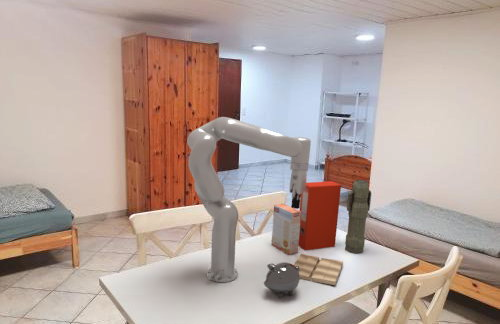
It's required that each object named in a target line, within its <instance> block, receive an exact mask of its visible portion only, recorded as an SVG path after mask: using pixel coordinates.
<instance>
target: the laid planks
mask: <svg viewBox="0 0 500 324" xmlns="http://www.w3.org/2000/svg"><path fill="white" fill-rule="evenodd" d="M320 260H321V259H320V257H318V256H315V255H310V254H309V255H308V254H304V253H300V255H299V256H298V258H297V259H296V261H295V262H294V264H293V265H294V266H299V268H300V271H299V274H300V280H305V281H308V282H309V281H310V282H312V276H313V274H314V272H315V270H316V268H317V266H318V264H319V262H320Z"/></svg>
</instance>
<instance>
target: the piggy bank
mask: <svg viewBox="0 0 500 324" xmlns="http://www.w3.org/2000/svg"><path fill="white" fill-rule="evenodd" d="M267 269H268V271H267V273H266V277H265V280H264V282H263V285H264V287H265V288H267V289H269V291H271V292H273V293H275V294H277V296H278V297H277V298H279V299H283V298H284V296H285V294H288V295H289V296H290V297H293V296H294V294H295V290H296V289H297V288H298V286H299V284H300V281H301V279H300V274H299V271H300V268H299V266H294V264H292V263H289V262H279V263H276V264H274V263H269V264H267Z"/></svg>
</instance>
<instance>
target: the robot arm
mask: <svg viewBox="0 0 500 324" xmlns="http://www.w3.org/2000/svg"><path fill="white" fill-rule="evenodd" d="M222 139H223V140H226V141H229V142H232V143H236V144H240V145H243V146H247V147H251V148H253V149H258V150H262V151H267V152H271V153H275V154H279V155H282V156H286V157H289V158H290V167H289V169H290V170H291V175H290V181H289V193H290V194H291V206H290V207H292V208H294V209H297V210H299V209H300V199H301V194H302V193H303V192H304V191H305V190H306V183H307V178H308V177H307V175H308V174H307V173H308V171H309V164H310V163H309V162H310V155H311V153H310V152H311V146H312V145H311V139H310V138H308V137H303V136H297V137H291V136H287V135H284V134H281V133H277V132H274V131H271V130H269V129H267V128H264V127H261V126H257V125H255V124H252V123H249V122H245V121H242V120H238V119H235V118H231V117H226V116H221V117H220V116H219V117H217V118H215V119H213V120H211V121H209V122H207V123H205V124H203V125H202V126H200V127H197V128H196V129H194V130H192V131H191V132H190V133H189V134H188V136H187V140H186V142H187V146H188V147H189V149H190V153H189V156H188V161H187V162H188V170H189V172H190V174H191V176H192V178H193V181H194V182H193V183H194V185H193V186H194V191H195V192H196V194H197V197H198V198H199V199H200V202H201V204H202V206H204V209H205V211H206V212H207V214H208V215H210V217H211V218H212V219H213V226H212V230H211V253H210V256H211V259H210V260H211V261H210V268H209V269H208V270H207V271H206V280H208V281H213V282H217V283H228V282H232V281H234V280H235V279H237V278H238V276H239V271H238V270H237V269H236V268H235V263H236V237H237V236H236V235H237V234H236V233H237V226H238V220H239V210H238V207H236V205H235V204H234V203H233V202H232V201H231V200H229V199H228V198H226V197H225V187H224V183H222V181H221V180H220V177H219V175H218V173H217V172H216V170H215V168H214V165H213V164H212V158H213V155H214V153H215V150H216V148H217V142H218V141H220V140H222Z"/></svg>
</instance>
